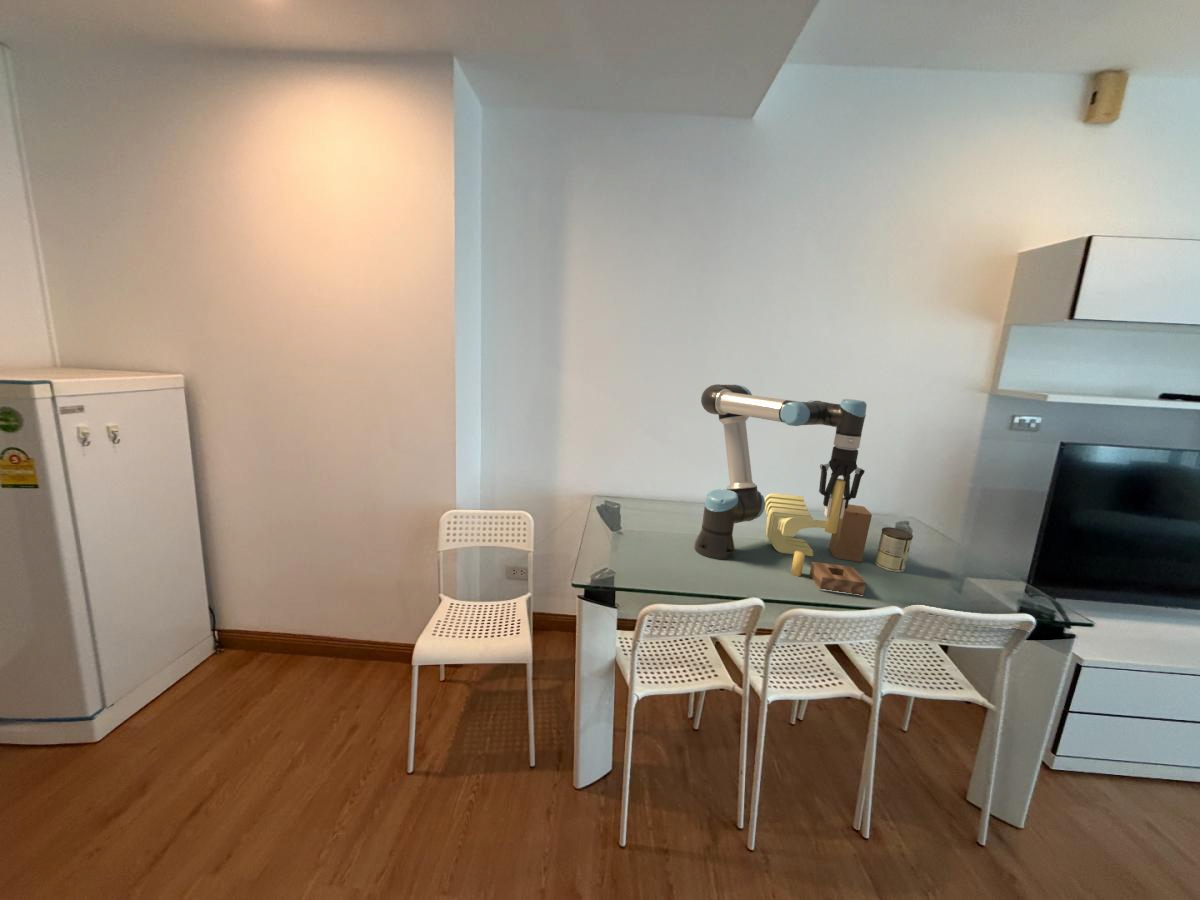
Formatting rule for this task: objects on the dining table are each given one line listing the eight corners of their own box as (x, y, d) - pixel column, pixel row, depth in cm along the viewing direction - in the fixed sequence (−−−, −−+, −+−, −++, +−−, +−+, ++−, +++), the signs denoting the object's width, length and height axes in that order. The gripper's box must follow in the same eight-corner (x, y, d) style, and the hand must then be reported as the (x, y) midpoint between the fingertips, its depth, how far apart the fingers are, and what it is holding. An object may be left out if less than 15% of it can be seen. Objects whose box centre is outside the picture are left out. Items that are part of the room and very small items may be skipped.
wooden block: (861, 562, 194) (872, 514, 189) (834, 558, 195) (844, 510, 191) (854, 552, 203) (864, 506, 199) (828, 548, 205) (837, 502, 201)
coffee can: (872, 558, 199) (879, 525, 196) (901, 563, 196) (909, 530, 193) (877, 568, 190) (885, 533, 187) (907, 574, 187) (916, 539, 183)
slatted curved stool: (758, 531, 218) (765, 492, 214) (795, 535, 217) (803, 496, 213) (778, 560, 188) (786, 516, 184) (820, 565, 188) (829, 521, 184)
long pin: (826, 532, 165) (835, 480, 161) (823, 529, 169) (832, 477, 165) (837, 534, 165) (847, 481, 161) (834, 530, 168) (843, 479, 164)
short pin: (791, 575, 177) (796, 554, 175) (789, 570, 181) (793, 550, 179) (802, 576, 177) (806, 556, 175) (799, 572, 180) (803, 551, 178)
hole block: (819, 590, 167) (822, 577, 166) (809, 574, 179) (812, 561, 178) (863, 596, 166) (866, 582, 165) (849, 579, 178) (852, 567, 177)
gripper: (822, 447, 158) (809, 516, 163) (877, 452, 156) (863, 523, 161) (815, 442, 166) (804, 509, 170) (868, 448, 163) (855, 515, 168)
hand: (833, 516), depth 166 cm, fingers closed on long pin, 3 cm apart
